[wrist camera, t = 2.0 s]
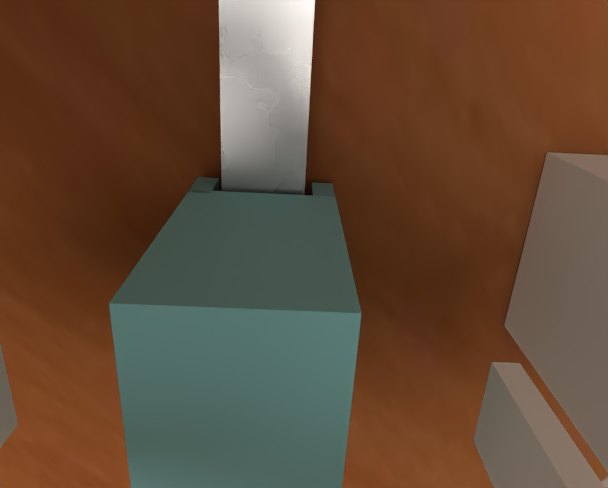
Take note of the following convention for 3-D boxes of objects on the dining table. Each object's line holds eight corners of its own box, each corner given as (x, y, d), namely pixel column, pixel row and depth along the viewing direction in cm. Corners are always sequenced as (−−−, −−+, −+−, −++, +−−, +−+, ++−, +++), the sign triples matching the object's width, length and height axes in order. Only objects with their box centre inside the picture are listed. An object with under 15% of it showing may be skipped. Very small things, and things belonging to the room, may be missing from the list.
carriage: (198, 177, 19) (109, 303, 10) (332, 183, 19) (361, 313, 10) (203, 330, 22) (137, 537, 13) (320, 335, 22) (335, 542, 13)
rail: (188, -328, 14) (133, -508, 9) (364, -314, 14) (397, -485, 9) (209, 368, 23) (187, 451, 19) (314, 372, 23) (318, 455, 19)
